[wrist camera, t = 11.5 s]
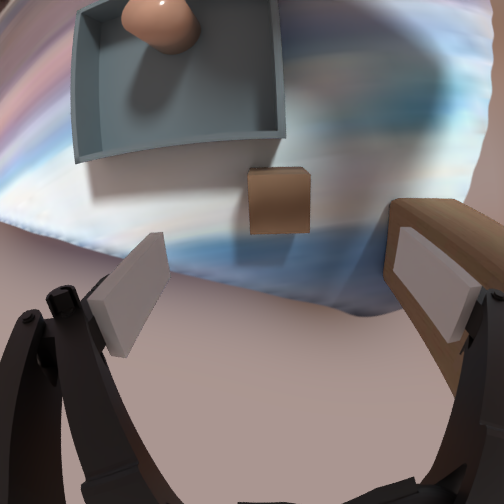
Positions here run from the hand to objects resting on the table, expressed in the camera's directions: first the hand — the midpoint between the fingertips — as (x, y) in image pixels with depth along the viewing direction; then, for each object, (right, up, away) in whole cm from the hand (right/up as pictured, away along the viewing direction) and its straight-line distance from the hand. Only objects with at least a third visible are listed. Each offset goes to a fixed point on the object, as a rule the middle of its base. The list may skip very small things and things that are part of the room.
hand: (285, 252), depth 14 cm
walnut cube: (+1, +6, +12) cm, 14 cm away
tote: (-9, +18, +7) cm, 21 cm away
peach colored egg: (-9, +21, +5) cm, 24 cm away
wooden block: (+18, +2, +13) cm, 22 cm away
